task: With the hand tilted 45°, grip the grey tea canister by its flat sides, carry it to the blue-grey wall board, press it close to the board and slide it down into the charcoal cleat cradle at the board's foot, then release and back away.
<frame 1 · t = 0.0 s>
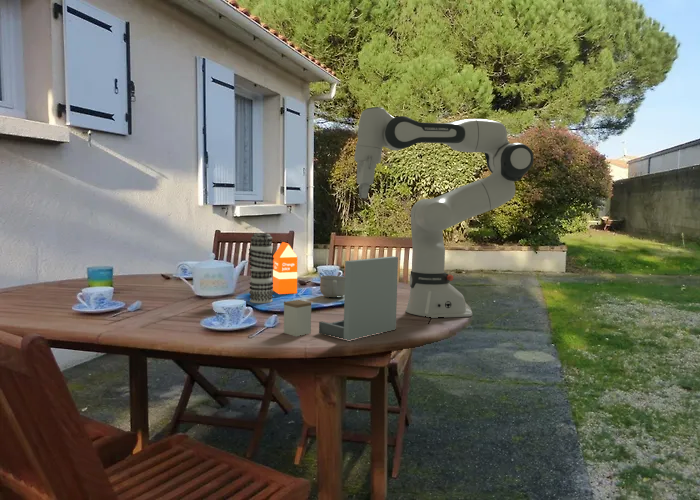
hand: (362, 198, 188), 39 cm above the table, tool pointing down, fingers open, 8 cm apart
grey tea canister: (297, 333, 162), on the table
orange juice: (284, 292, 227), on the table
wall board: (346, 333, 162), on the table
decorative candle: (261, 301, 207), on the table
teacup: (333, 298, 217), on the table
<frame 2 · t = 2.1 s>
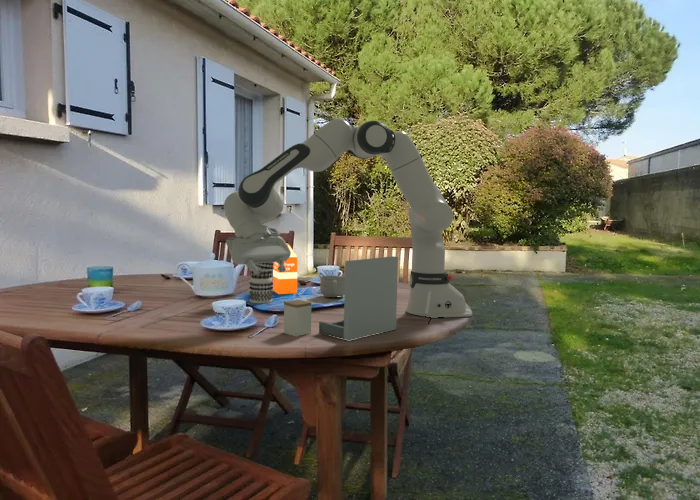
hand: (270, 272, 169), 16 cm above the table, tool tilted 45°, fingers open, 8 cm apart
nothing on the table moved.
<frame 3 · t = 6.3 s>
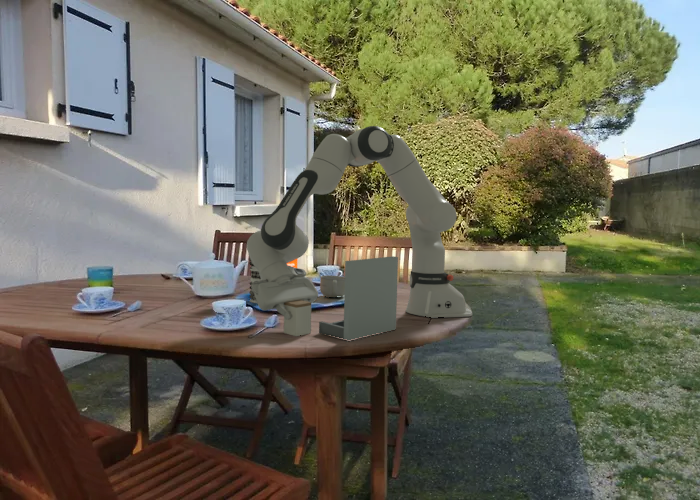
hand: (299, 316, 161), 5 cm above the table, tool tilted 45°, fingers closed on grey tea canister, 5 cm apart
grey tea canister: (297, 333, 162), on the table, touching gripper
everything else where it was.
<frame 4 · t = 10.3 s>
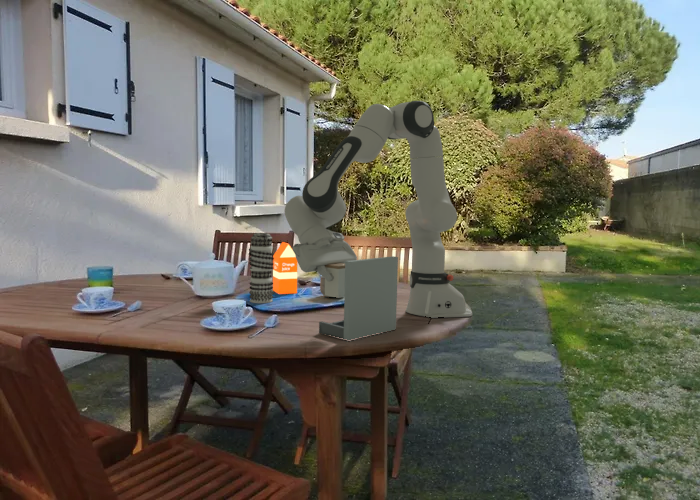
hand: (339, 278, 161), 16 cm above the table, tool tilted 45°, fingers closed on grey tea canister, 5 cm apart
grey tea canister: (338, 295, 162), point 11 cm above the table, touching gripper
everything else where it was.
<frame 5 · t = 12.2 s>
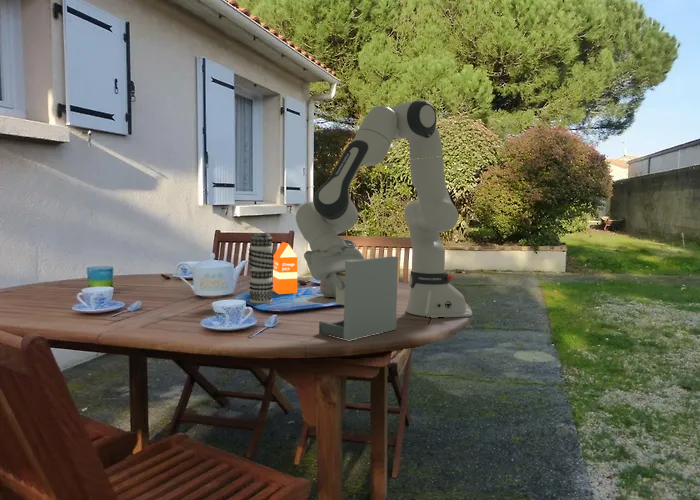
hand: (351, 287, 159), 14 cm above the table, tool tilted 45°, fingers closed on grey tea canister, 5 cm apart
grey tea canister: (349, 303, 160), point 9 cm above the table, touching gripper
everything else where it was.
when the fingers open (6 cm above the table, at t = 14.2 s): grey tea canister stays where it is, resting on wall board.
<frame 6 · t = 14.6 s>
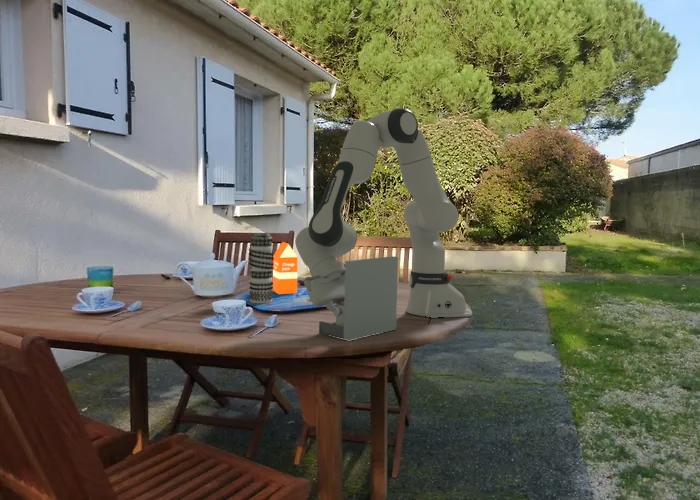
hand: (351, 312, 160), 6 cm above the table, tool tilted 45°, fingers open, 8 cm apart
grey tea canister: (349, 332, 161), point 1 cm above the table, touching wall board
everything else where it was.
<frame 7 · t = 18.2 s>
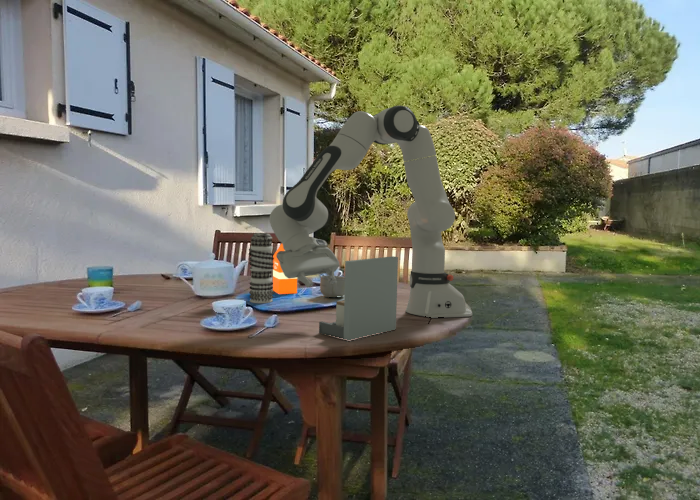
hand: (322, 284, 168), 13 cm above the table, tool tilted 45°, fingers open, 8 cm apart
nothing on the table moved.
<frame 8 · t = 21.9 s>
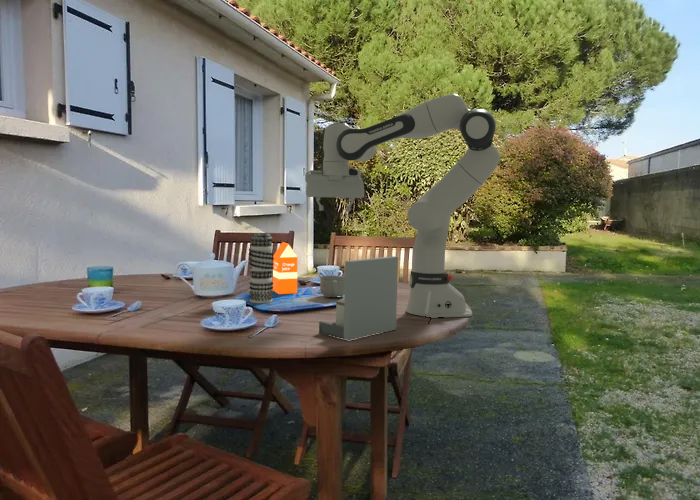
hand: (334, 210, 196), 34 cm above the table, tool pointing down, fingers open, 8 cm apart
nothing on the table moved.
at the end: grey tea canister 0.9 cm off-centre on the wall board, point 0.6 cm above the wall board's base; grey tea canister tilted 0°; the gripper is holding nothing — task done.
